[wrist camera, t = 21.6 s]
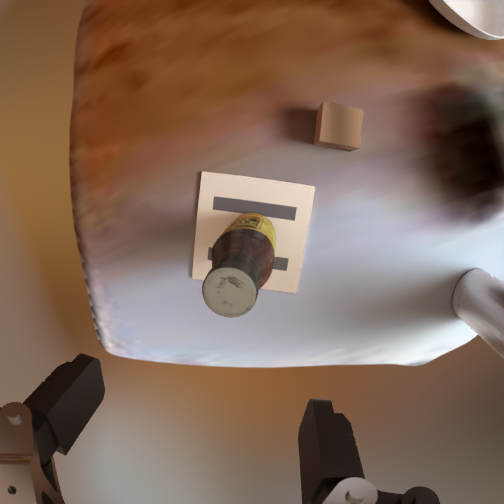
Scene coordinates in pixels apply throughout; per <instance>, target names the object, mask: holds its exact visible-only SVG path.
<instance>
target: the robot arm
mask: <svg viewBox="0 0 504 504" xmlns="http://www.w3.org/2000/svg"><path fill="white" fill-rule="evenodd" d="M452 303H453V309H454V312H455V313H456V315H457V316H458V317H460V318H461V319H462V320H463V321H464V322H465V323H466V324H467V325H468V326H470V327H471V328H472V329H473V330H474V331H475V332H476V333H477V334H478V335H479V336H481V337H482V338H483V339H484V340H485V341H486V342H487V343H488V344H489V345H490V346H491V347H492V348H493V349H495V351H497V352H498V353H499V354H500V355H501V356H502V357H503V358H504V282H503V281H502V280H500V279H498V278H496V277H495V276H493V275H491V274H489V273H487V272H486V271H484V270H482V269H473V270H471V271H469V272H467V273H466V274H465V275H464V276H463V277H462V278H461V280H460V281H459V282H458V284H457V286H456V288H455V291H454V295H453V302H452ZM104 393H105V387H104V381H103V376H102V371H101V365H100V361H99V360H98V359H97V358H94V357H91V356H88V355H85V354H82V353H81V354H79V355H78V356H77V357H76V358H75V359H74V360H73V361H72V362H66V363H64V364H62V365H60V366H58V367H57V368H56V369H55V370H54V371H53V372H52V373H51V375H50V376H48V377H47V378H46V379H45V382H42V383H41V384H40V386H38V387H37V389H36V390H35V391H34V392H33V393H32V394H31V395H30V396H29V397H28V398H27V399H26V400H25V401H24V402H23V403H20V402H11V403H8V404H6V405H4V406H3V407H2V408H1V407H0V504H65V502H64V500H63V497H62V493H61V490H60V485H59V481H58V477H57V472H56V467H55V462H54V458H53V454H54V453H55V451H57V452H60V453H61V454H64V455H67V453H68V451H69V450H70V449H71V447H72V445H73V444H74V442H75V441H76V439H77V438H78V436H79V435H80V433H81V432H82V430H83V429H84V427H85V426H86V424H87V423H88V421H89V420H90V418H91V417H92V415H93V414H94V412H95V411H96V409H97V408H98V406H99V405H100V403H101V402H102V400H103V398H104ZM355 443H356V442H355V438H354V436H353V431H352V427H351V423H350V422H349V421H348V419H347V418H346V417H345V416H344V415H343V414H342V413H334V411H333V406H332V402H331V400H324V399H323V400H322V399H310V400H309V402H308V404H307V407H306V411H305V414H304V416H303V419H302V422H301V425H300V428H299V434H298V444H299V457H300V458H299V459H300V474H301V491H302V504H440V502H439V499H438V497H437V495H436V493H435V492H434V491H432V490H431V489H429V488H426V487H413V488H411V489H409V490H408V491H407V492H406V493H405V494H395V493H388V492H382V491H379V490H377V489H376V488H375V486H374V485H373V484H372V483H371V482H369V481H367V480H366V479H365V477H364V473H363V469H362V465H361V462H360V458H359V453H358V450H357V446H356V445H355Z"/></svg>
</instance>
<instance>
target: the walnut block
mask: <svg viewBox="0 0 504 504" xmlns="http://www.w3.org/2000/svg"><path fill="white" fill-rule="evenodd" d="M362 122H363V109H359V108H355V107H350V106H345V105H340V104H335V103H330V102H324V101H323V103H322V104H321V106H320V107H319V108H318V110H317V119H316V128H315V138H314V145H317V146H323V147H329V148H334V149H340V150H345V151H353V150H356V149H360V144H361V133H362Z"/></svg>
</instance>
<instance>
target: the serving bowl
mask: <svg viewBox="0 0 504 504" xmlns="http://www.w3.org/2000/svg"><path fill="white" fill-rule="evenodd" d="M428 1H429V2H430V3H431V4H432V5H433V6H434V8H435V9H436V10H437V11H438V12H439V13H440V14H442V15H443V16H444V17H445V18H446V19H447V20H449V21H450V22H451V23H452V24H454V25H455V26H457V27H458V28H460V29H461V30H463V31H465V32H467V33H469V34H471V35H473V36H476V37H479V38H482V39H487V40H498V39H503V38H504V0H428Z"/></svg>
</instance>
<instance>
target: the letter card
mask: <svg viewBox="0 0 504 504" xmlns="http://www.w3.org/2000/svg"><path fill="white" fill-rule="evenodd" d="M314 191H315V186H309V185H303V184H296V183H290V182H283V181H276V180H269V179H262V178H254V177H246V176H238V175H230V174H221V173H211V172H202V176H201V185H200V194H199V203H198V213H197V223H196V234H195V246H194V258H193V272H192V279H198V280H205V277H206V276H207V274H208V272H209V271H210V269H211V268H212V256H211V254H212V248H213V245H214V243H215V242H216V240H217V239H218V238H219V237H220V235H221V234H222V233H223V232H224V231H225V230H226V229H227V227H228V226H229V225H230V224H231V223H232V222H233V221H234V220H235V219H236V218H237V217H239V216H241V215H243V214H246V213H259V214H261V215H263V216H265V217H266V218H268V219H269V220H270V221H271V222H272V225H273V227H274V229H275V232H276V247H275V261H274V265H273V270H272V273H271V275H270V278H269V279H268V281H267V282H266V283H265V284H264V285H263V286H262V287H261V288H260V289H266V290H273V291H281V292H288V293H296V294H297V291H298V286H299V280H300V275H301V270H302V264H303V258H304V253H305V247H306V241H307V235H308V229H309V223H310V217H311V211H312V205H313V198H314Z"/></svg>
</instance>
